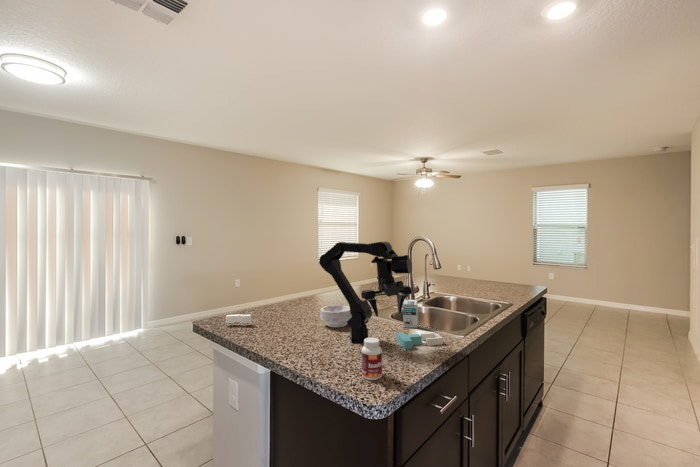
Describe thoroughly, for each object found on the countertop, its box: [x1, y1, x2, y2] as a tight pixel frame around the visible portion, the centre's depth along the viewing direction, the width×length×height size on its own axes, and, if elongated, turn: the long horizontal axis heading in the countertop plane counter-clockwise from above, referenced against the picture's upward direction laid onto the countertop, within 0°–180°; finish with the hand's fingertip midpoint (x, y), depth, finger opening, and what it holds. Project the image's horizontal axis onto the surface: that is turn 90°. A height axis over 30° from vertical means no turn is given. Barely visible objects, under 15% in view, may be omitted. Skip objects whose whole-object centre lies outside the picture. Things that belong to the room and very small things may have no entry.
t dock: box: [419, 332, 444, 346], centre depth 125 cm, size 6×7×2 cm
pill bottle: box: [361, 337, 383, 381], centre depth 97 cm, size 6×6×11 cm
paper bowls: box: [320, 305, 352, 328], centre depth 150 cm, size 15×15×8 cm
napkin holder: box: [225, 313, 252, 324], centre depth 151 cm, size 15×11×6 cm
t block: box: [395, 331, 423, 350], centre depth 124 cm, size 8×10×3 cm
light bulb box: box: [402, 298, 419, 329], centre depth 149 cm, size 11×7×11 cm, turn 168°
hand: (388, 314), depth 122 cm, fingers open, 9 cm apart
